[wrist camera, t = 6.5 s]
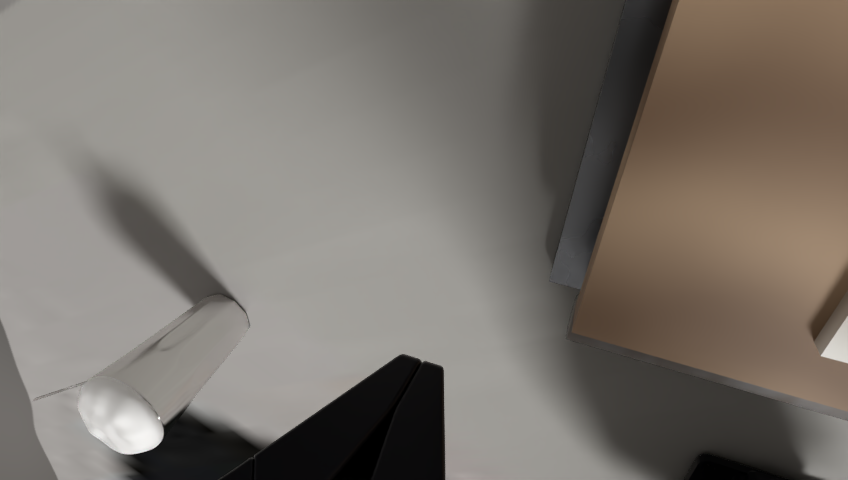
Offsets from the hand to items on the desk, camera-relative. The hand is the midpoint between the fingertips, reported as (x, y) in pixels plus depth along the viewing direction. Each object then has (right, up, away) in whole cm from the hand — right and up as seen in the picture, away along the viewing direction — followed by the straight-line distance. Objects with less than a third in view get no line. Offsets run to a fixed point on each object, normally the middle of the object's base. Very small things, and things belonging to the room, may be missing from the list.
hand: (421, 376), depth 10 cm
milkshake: (-12, -2, +22) cm, 25 cm away
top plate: (+13, +4, +4) cm, 14 cm away
